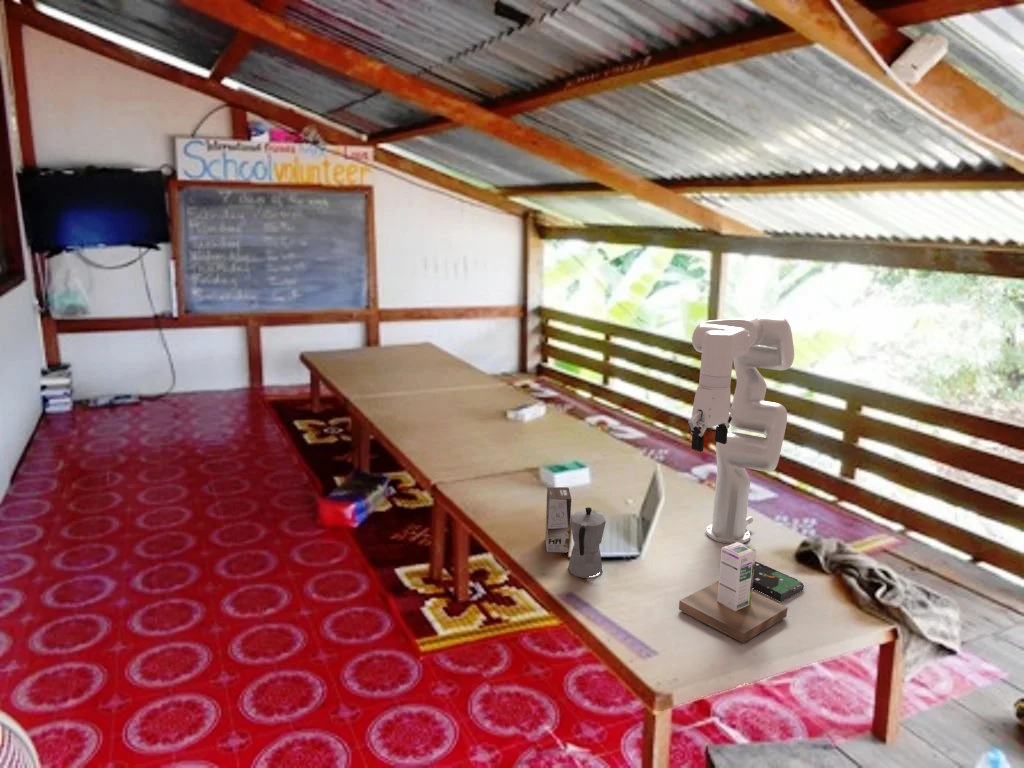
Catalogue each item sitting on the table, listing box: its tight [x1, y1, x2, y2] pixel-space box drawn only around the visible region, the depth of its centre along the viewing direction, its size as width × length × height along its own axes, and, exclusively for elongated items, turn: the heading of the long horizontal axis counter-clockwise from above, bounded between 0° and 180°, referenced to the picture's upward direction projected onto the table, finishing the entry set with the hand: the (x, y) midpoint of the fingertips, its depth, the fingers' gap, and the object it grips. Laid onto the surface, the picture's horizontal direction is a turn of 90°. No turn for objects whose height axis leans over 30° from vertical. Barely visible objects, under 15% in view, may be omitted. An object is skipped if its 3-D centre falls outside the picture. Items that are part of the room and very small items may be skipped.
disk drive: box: [752, 560, 805, 603], centre depth 201 cm, size 10×3×15 cm
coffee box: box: [545, 486, 573, 554], centre depth 218 cm, size 9×6×16 cm
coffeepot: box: [567, 506, 606, 579], centre depth 203 cm, size 15×9×18 cm, turn 163°
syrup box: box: [717, 542, 757, 611], centre depth 184 cm, size 6×6×14 cm
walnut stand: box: [678, 580, 789, 644], centre depth 186 cm, size 18×18×3 cm
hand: (709, 446), depth 195 cm, fingers open, 9 cm apart
